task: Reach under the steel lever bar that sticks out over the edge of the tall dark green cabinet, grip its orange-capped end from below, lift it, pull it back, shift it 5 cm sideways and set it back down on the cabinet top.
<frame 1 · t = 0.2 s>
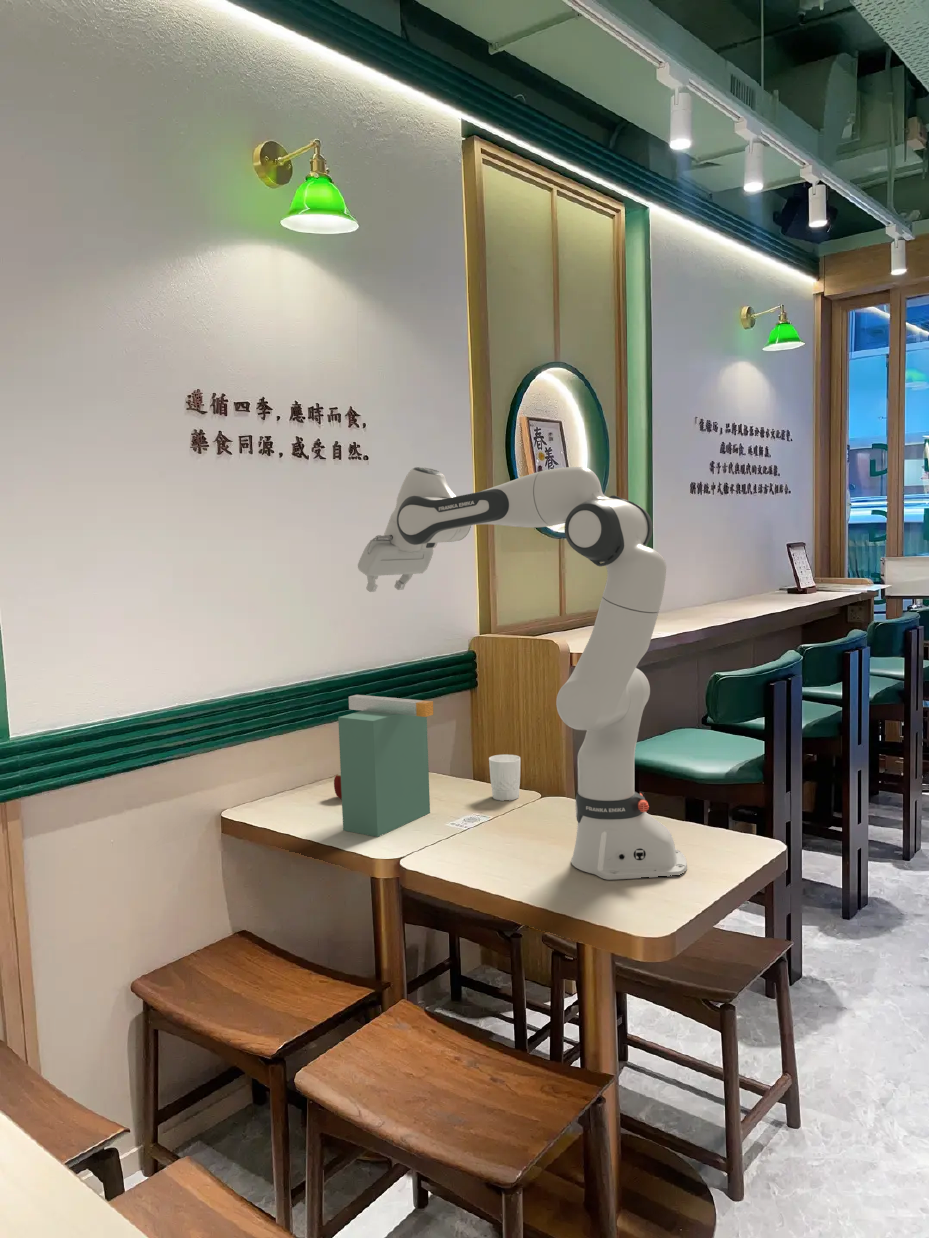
hand: (384, 589, 213), 54 cm above the table, tool tilted 30°, fingers open, 8 cm apart
lever bar: (390, 711, 213), point 26 cm above the table, touching cabinet
snack package: (370, 791, 244), on the table
white cup: (505, 797, 234), on the table
cabinet: (387, 821, 217), on the table
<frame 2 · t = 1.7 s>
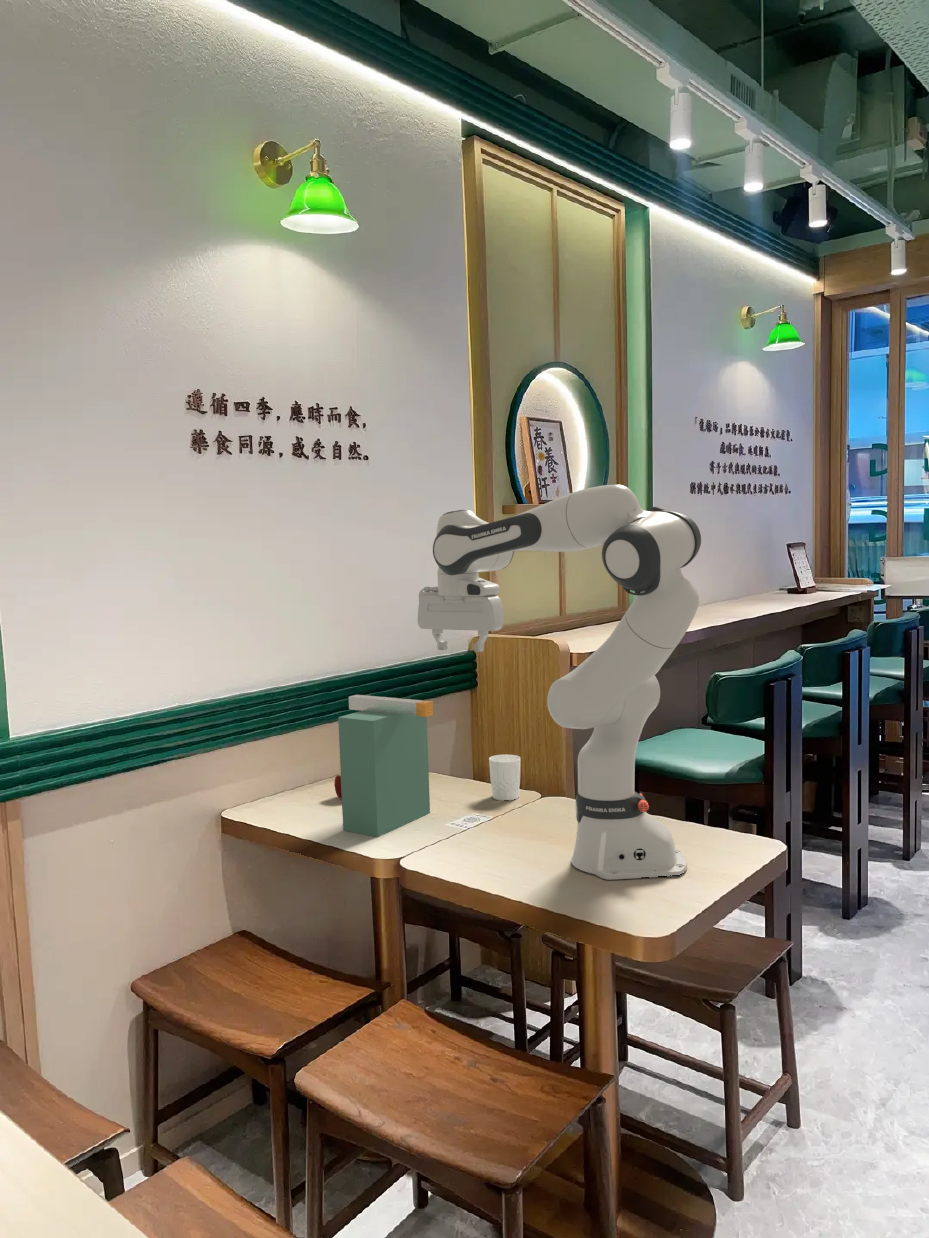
hand: (460, 650, 201), 41 cm above the table, tool pointing down, fingers open, 8 cm apart
nothing on the table moved.
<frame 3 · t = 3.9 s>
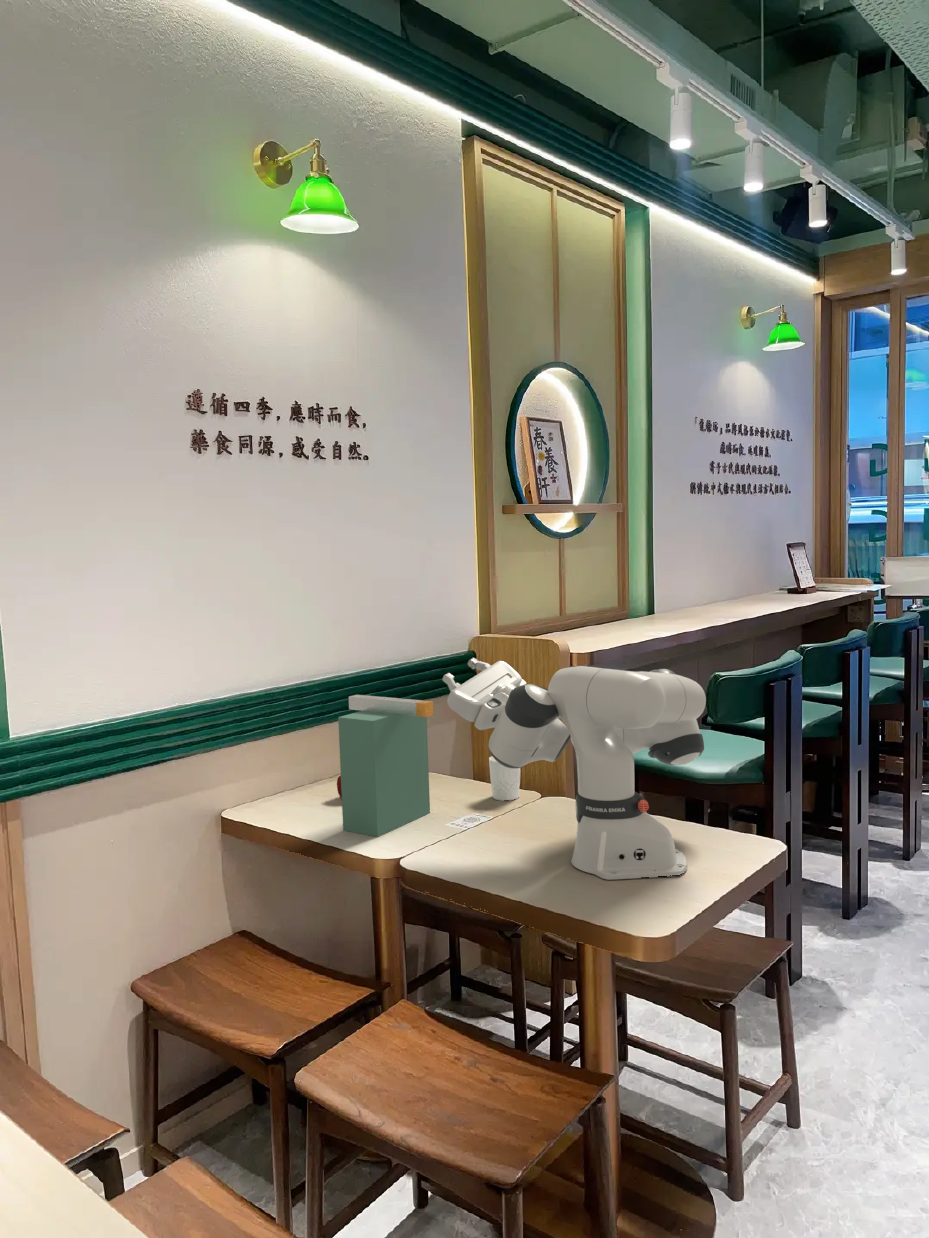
hand: (457, 668, 206), 36 cm above the table, tool pointing upward, fingers open, 8 cm apart
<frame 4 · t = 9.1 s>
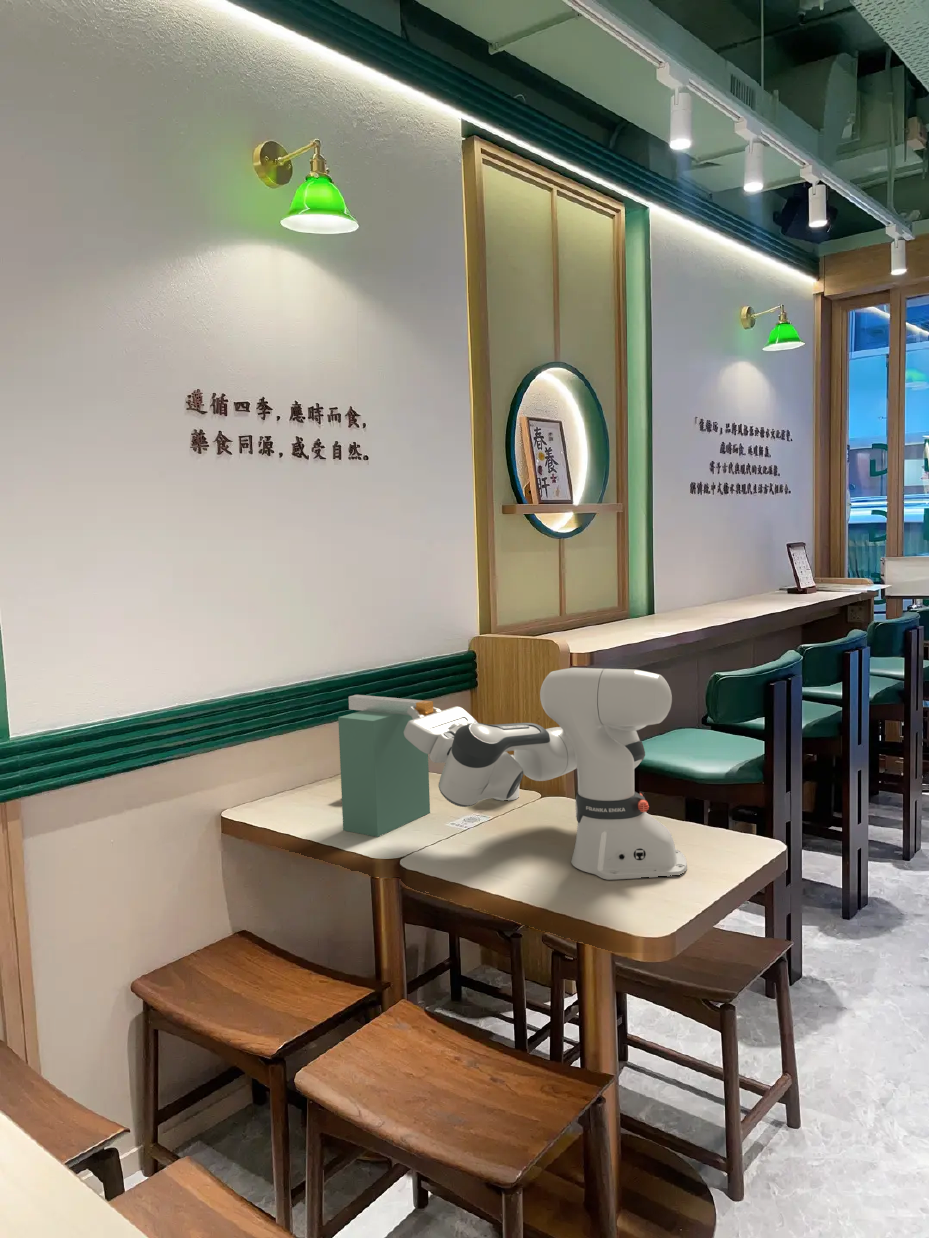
hand: (415, 707, 209), 28 cm above the table, tool pointing upward, fingers closed on lever bar, 3 cm apart
lever bar: (390, 711, 213), point 26 cm above the table, touching cabinet, gripper
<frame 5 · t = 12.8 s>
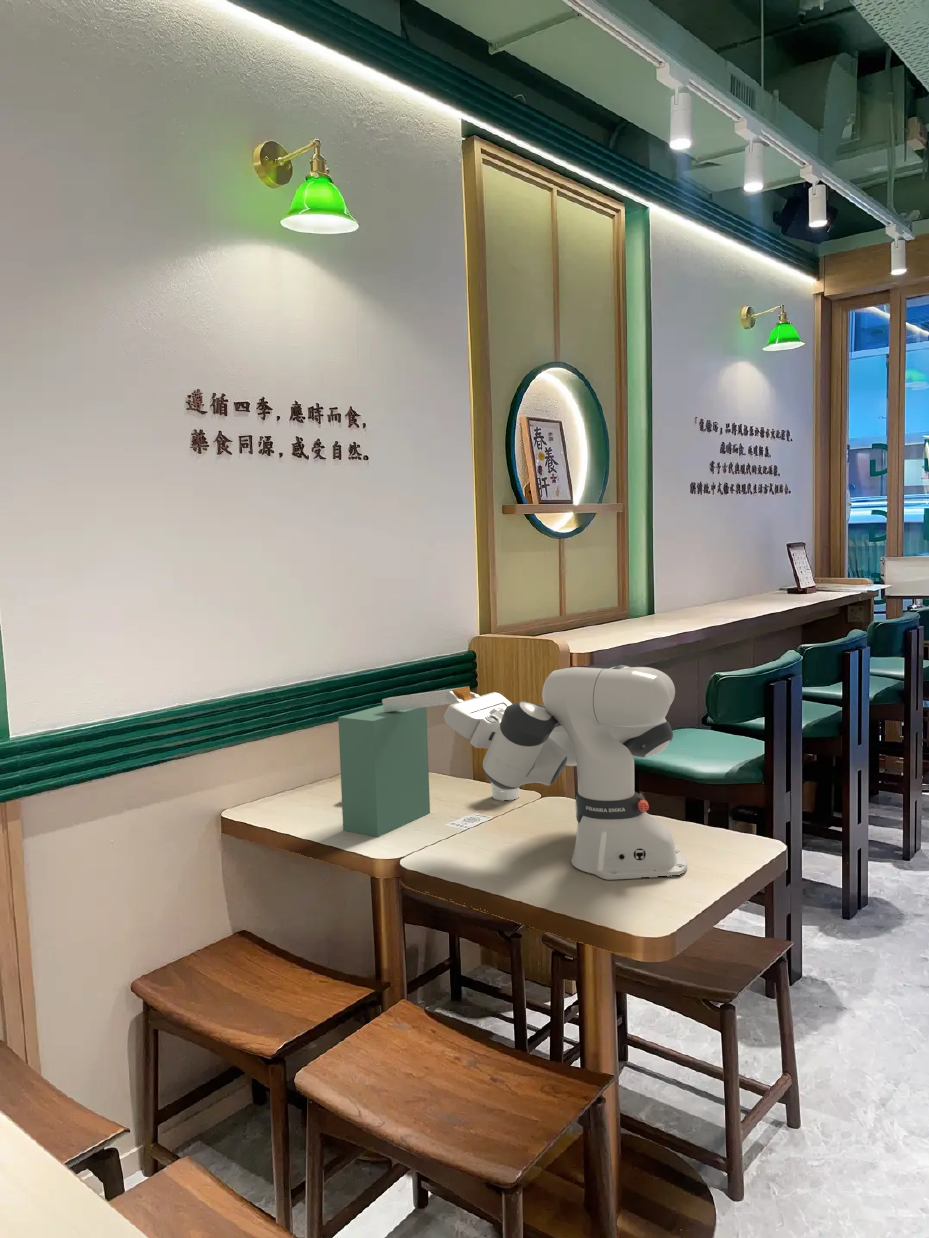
hand: (453, 692, 204), 32 cm above the table, tool pointing upward, fingers closed on lever bar, 3 cm apart
lever bar: (426, 706, 208), point 28 cm above the table, tilted 10°, touching gripper
when the fingers open (29 cm above the table, at t = 16.6 s): lever bar stays where it is, resting on cabinet.
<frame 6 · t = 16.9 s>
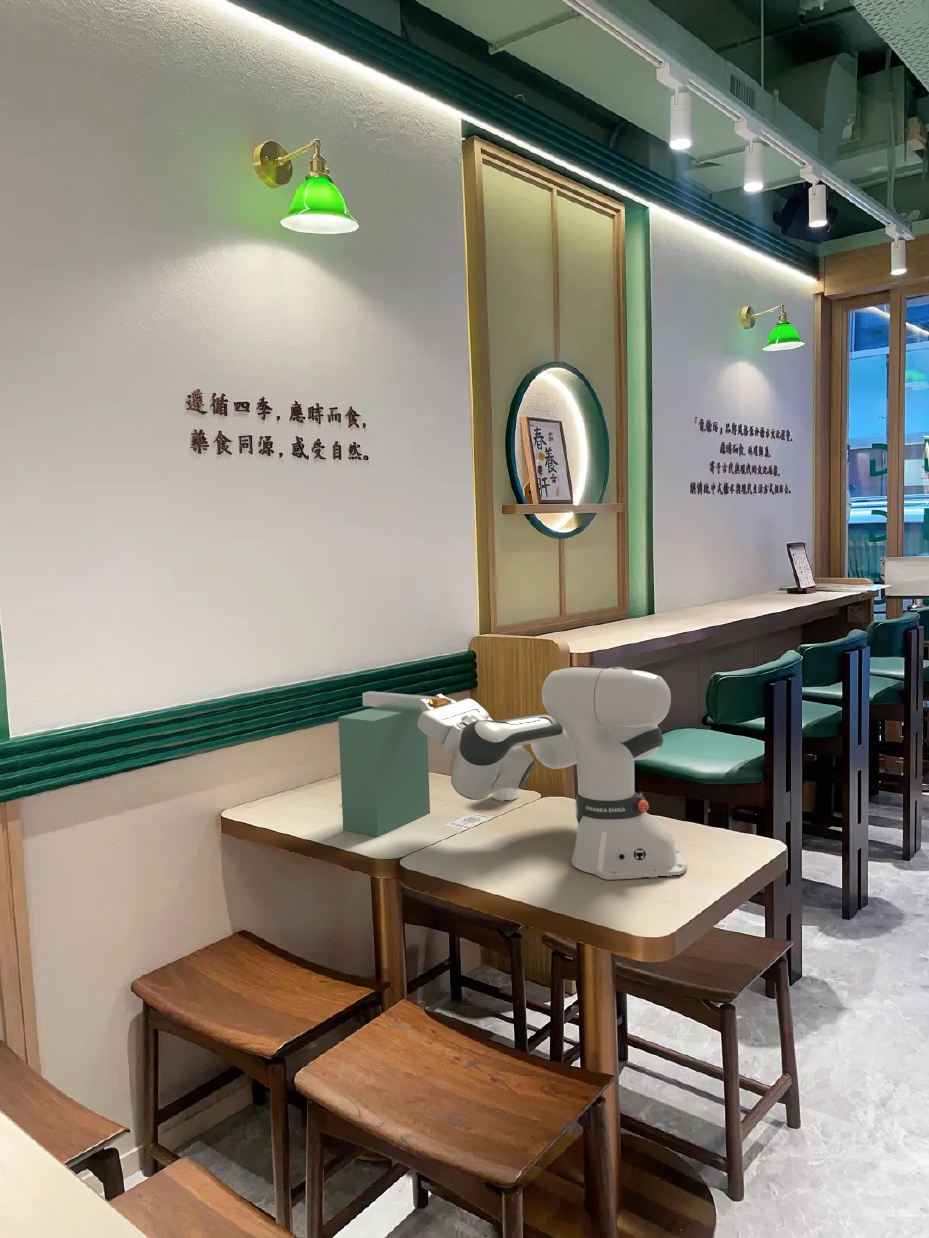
hand: (428, 698, 213), 29 cm above the table, tool pointing upward, fingers open, 5 cm apart
lever bar: (403, 708, 217), point 26 cm above the table, touching cabinet
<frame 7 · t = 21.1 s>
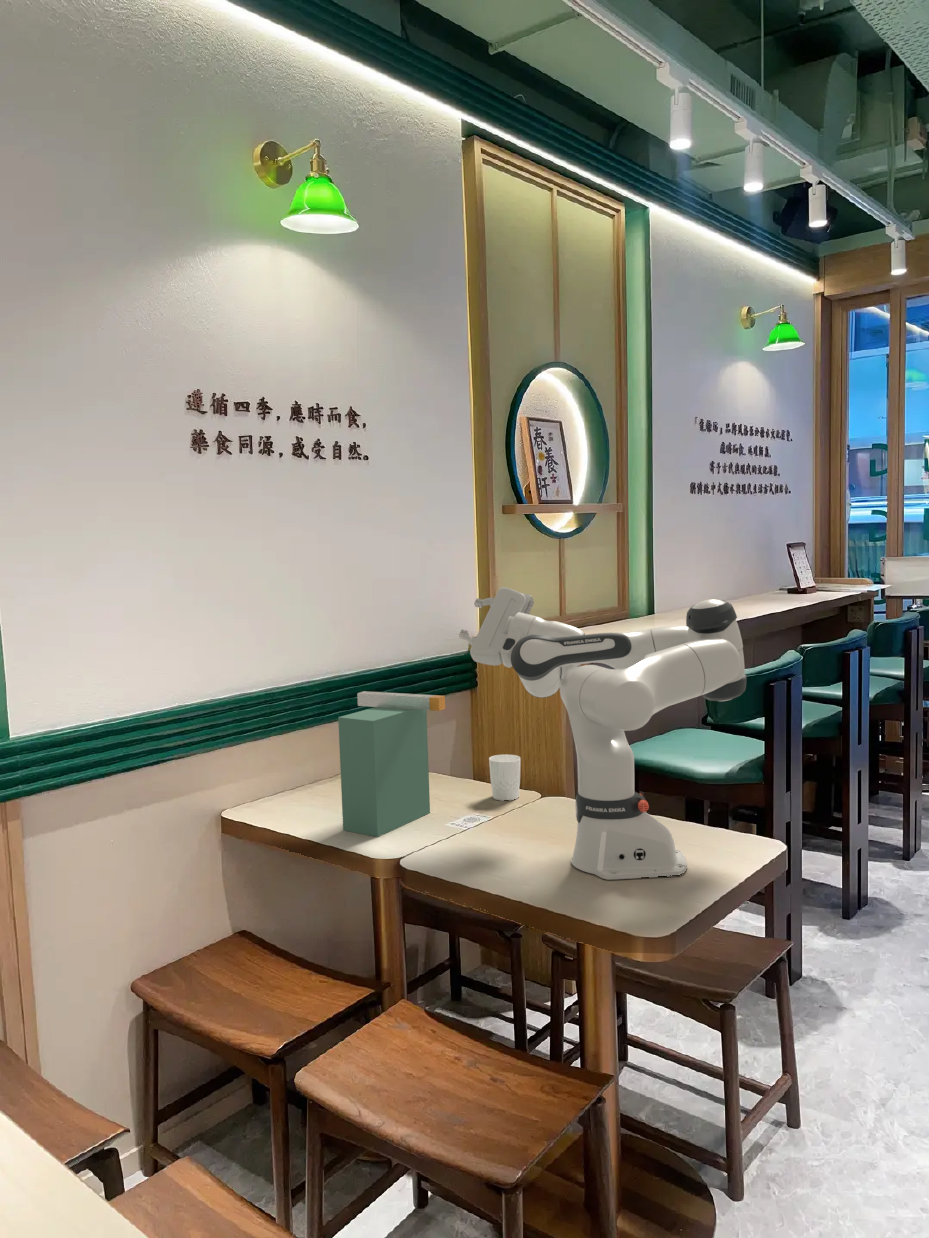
hand: (467, 617, 224), 46 cm above the table, tool horizontal, fingers open, 8 cm apart
lever bar: (400, 707, 219), point 26 cm above the table, touching cabinet
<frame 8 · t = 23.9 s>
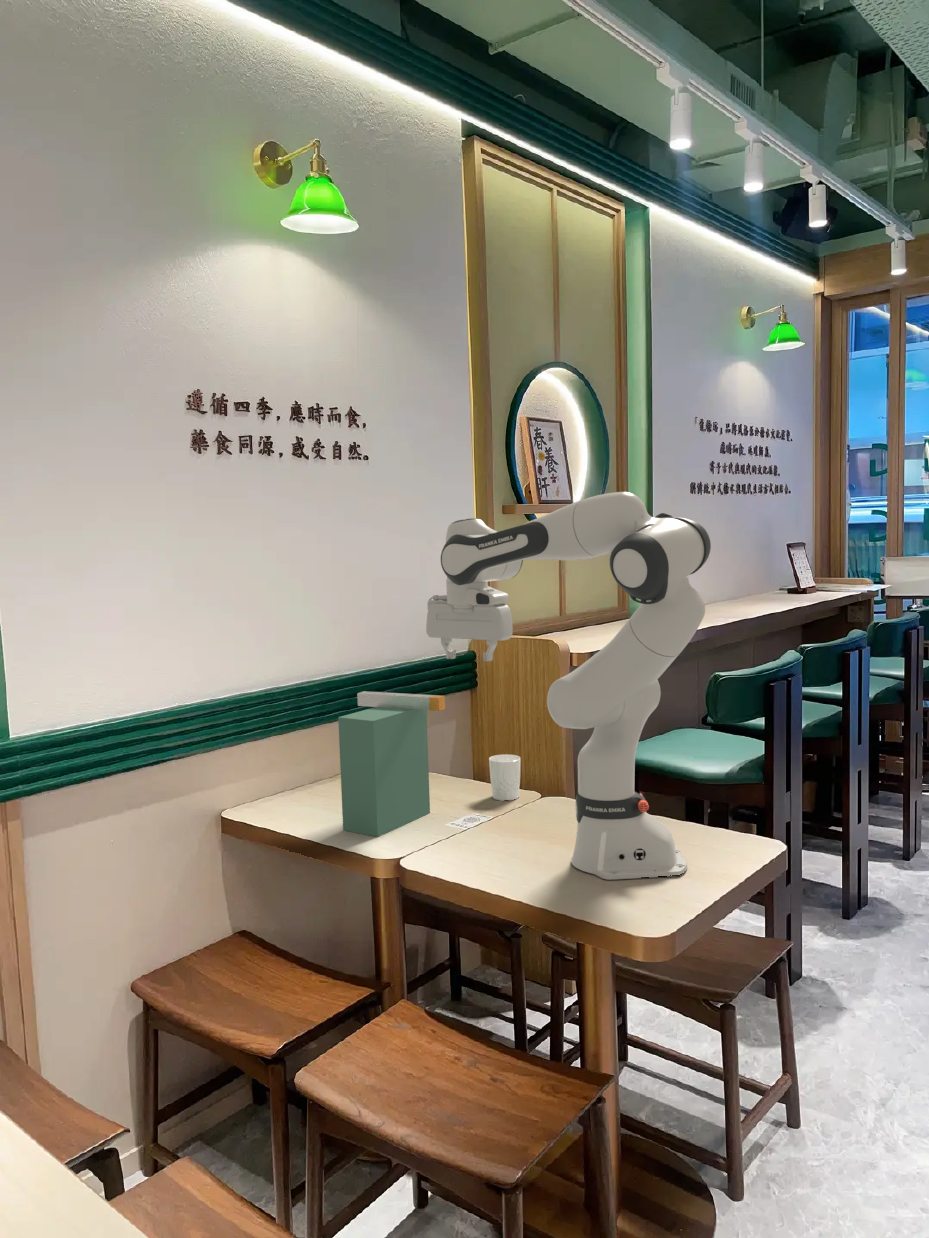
hand: (469, 659, 200), 39 cm above the table, tool pointing down, fingers open, 8 cm apart
at the end: lever bar touching cabinet; lever bar moved 5.9 cm from its start; lever bar tilted 0° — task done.
